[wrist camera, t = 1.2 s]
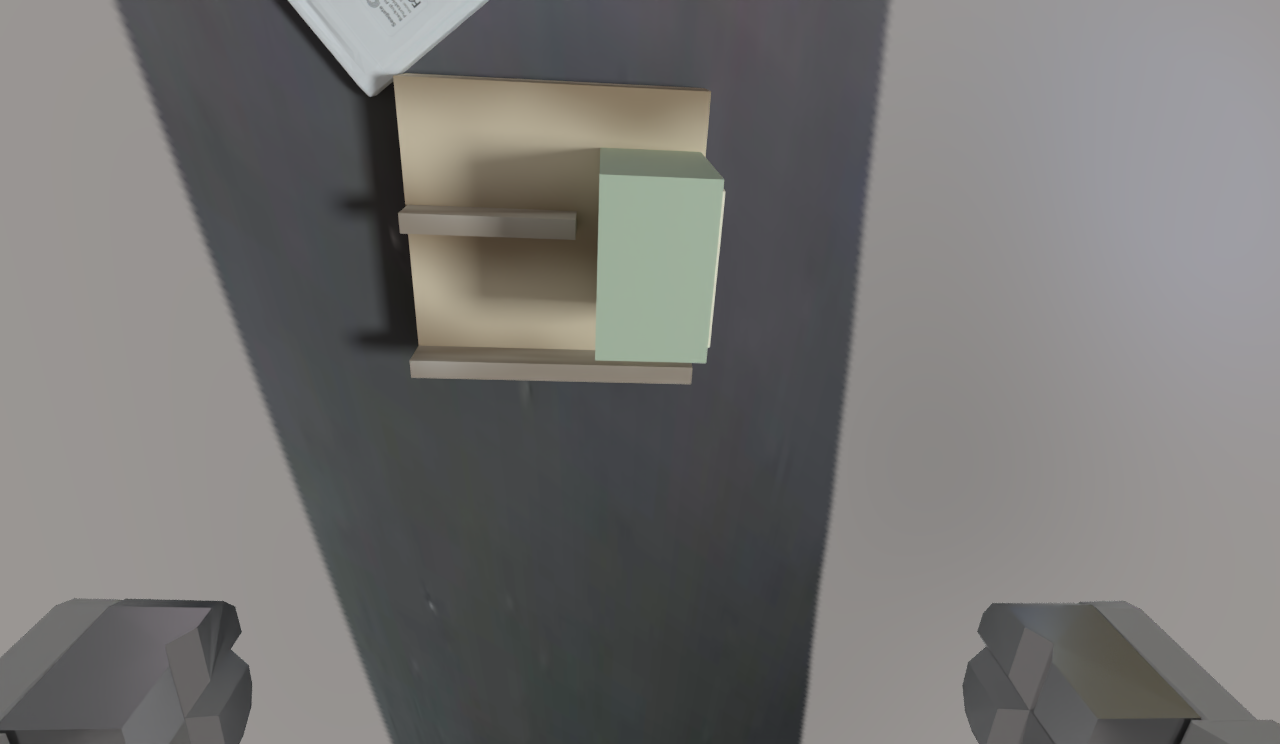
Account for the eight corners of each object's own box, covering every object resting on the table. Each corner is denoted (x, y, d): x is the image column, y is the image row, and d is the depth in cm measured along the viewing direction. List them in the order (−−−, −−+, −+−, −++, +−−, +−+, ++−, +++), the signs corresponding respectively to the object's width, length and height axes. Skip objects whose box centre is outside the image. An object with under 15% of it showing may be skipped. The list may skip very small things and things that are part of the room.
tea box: (596, 302, 30) (595, 360, 25) (600, 147, 28) (599, 174, 22) (691, 305, 31) (710, 363, 25) (704, 152, 28) (728, 179, 22)
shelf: (406, 73, 28) (380, 77, 25) (704, 88, 29) (717, 94, 25) (430, 346, 33) (411, 379, 30) (682, 352, 34) (690, 386, 30)
